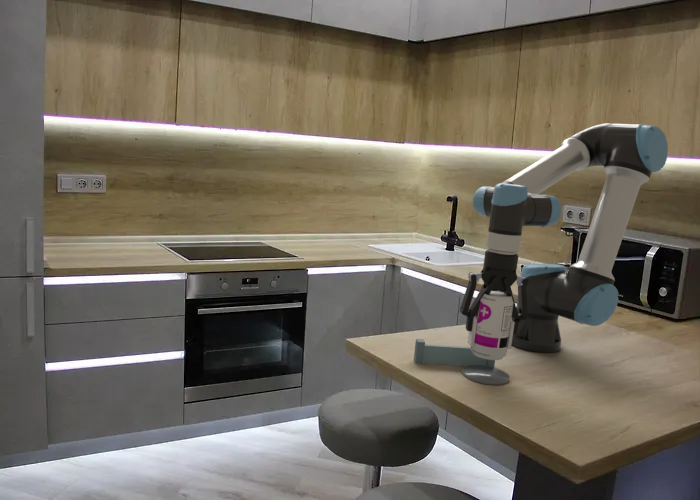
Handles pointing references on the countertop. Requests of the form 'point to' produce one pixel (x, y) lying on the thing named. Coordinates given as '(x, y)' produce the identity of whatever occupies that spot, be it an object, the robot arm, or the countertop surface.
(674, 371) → the countertop surface
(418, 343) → the handle
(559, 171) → the robot arm
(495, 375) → the coaster
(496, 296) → the supplement can
